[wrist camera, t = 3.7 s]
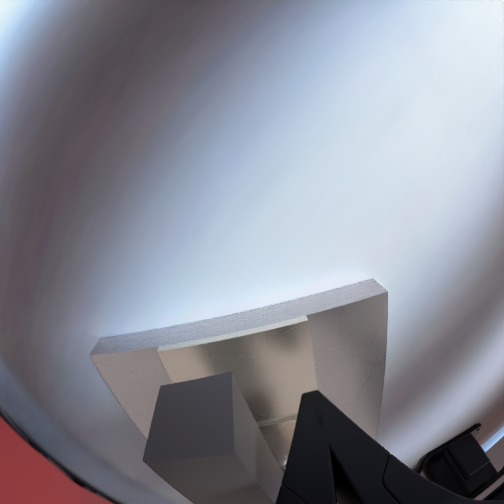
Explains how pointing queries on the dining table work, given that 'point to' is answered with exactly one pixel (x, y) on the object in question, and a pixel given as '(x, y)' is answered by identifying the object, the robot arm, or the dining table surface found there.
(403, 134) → the dining table surface
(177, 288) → the dining table surface
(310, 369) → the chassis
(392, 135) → the dining table surface
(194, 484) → the bar
